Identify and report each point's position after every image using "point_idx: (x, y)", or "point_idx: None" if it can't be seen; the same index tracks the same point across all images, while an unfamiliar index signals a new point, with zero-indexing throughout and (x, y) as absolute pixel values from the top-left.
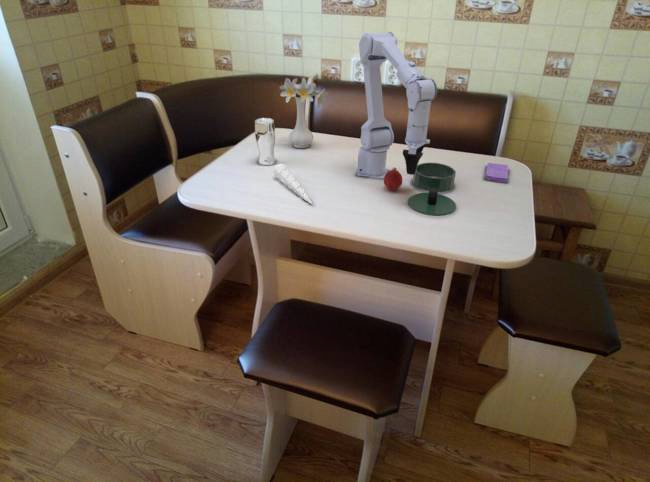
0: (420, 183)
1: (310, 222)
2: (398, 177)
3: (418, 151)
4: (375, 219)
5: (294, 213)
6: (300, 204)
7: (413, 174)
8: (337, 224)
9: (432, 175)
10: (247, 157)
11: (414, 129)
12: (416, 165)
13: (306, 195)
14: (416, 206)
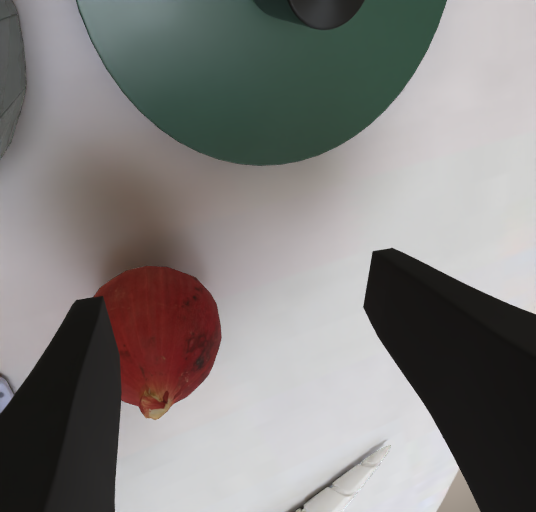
0: (2, 144)
1: None
2: (187, 325)
3: (82, 474)
4: (469, 246)
5: (439, 442)
6: (384, 459)
7: (395, 253)
8: None
9: None
10: None
11: None
12: (497, 303)
13: (363, 481)
14: (364, 91)
